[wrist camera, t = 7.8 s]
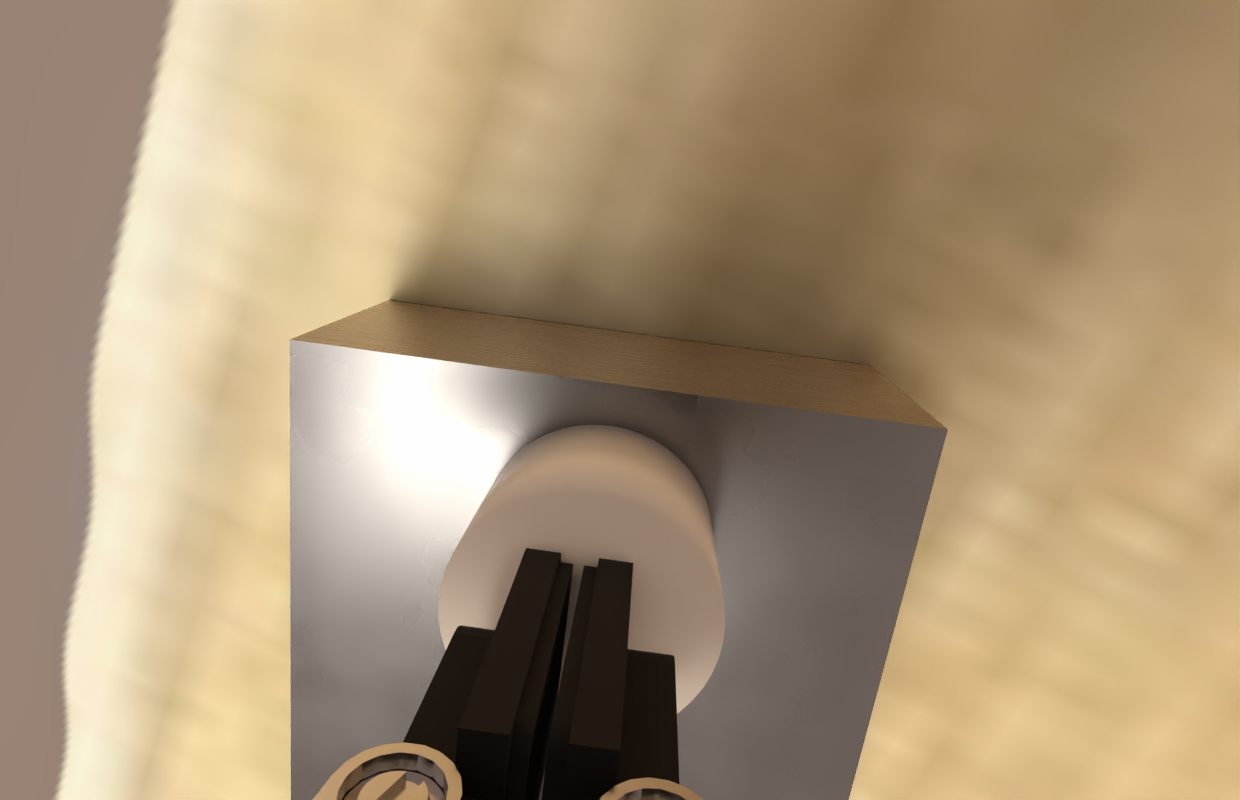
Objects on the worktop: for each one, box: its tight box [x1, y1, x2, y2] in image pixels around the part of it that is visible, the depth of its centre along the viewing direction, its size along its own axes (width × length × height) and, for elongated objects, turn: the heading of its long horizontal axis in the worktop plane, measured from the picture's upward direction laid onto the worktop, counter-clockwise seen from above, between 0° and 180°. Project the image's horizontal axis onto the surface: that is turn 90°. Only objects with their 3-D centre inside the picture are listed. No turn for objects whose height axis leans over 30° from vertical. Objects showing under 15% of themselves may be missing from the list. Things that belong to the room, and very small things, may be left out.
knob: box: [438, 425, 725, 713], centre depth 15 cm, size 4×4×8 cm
